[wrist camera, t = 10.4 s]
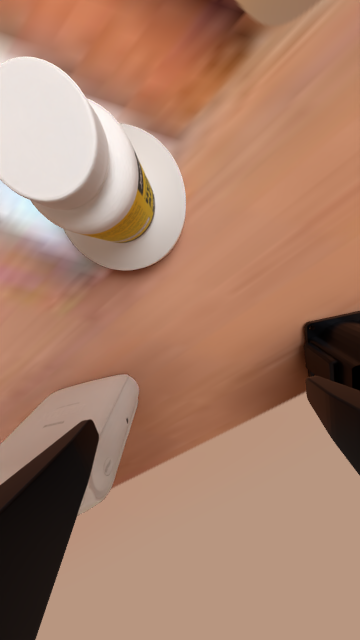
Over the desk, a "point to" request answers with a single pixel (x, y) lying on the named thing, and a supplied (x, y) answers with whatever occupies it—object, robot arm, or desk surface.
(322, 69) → the desk surface
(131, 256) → the plinth
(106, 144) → the supplement bottle
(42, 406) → the photo printer
